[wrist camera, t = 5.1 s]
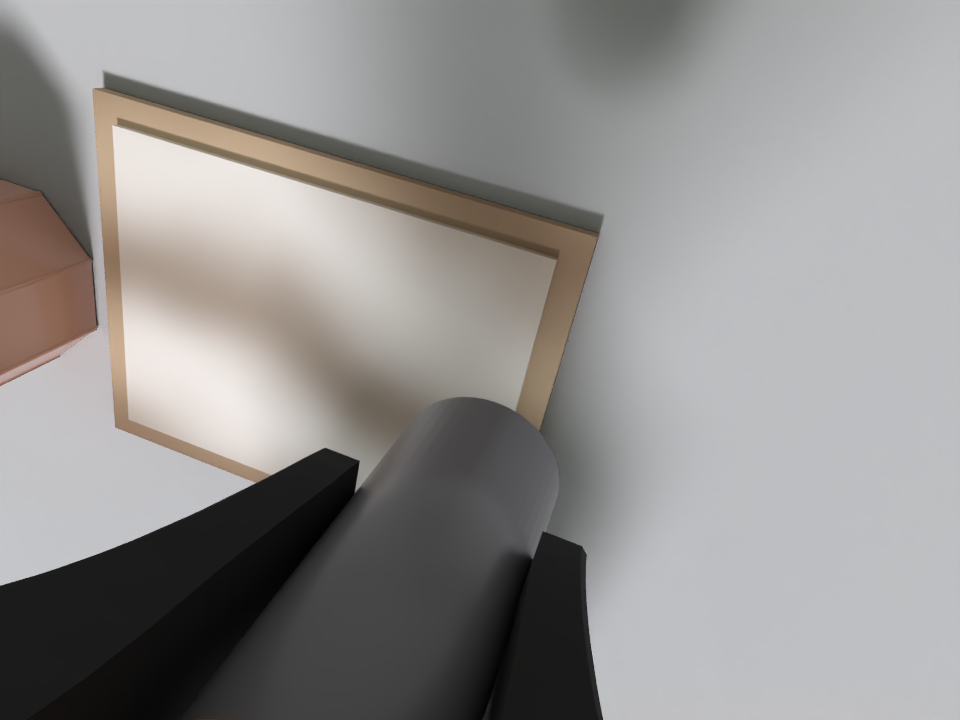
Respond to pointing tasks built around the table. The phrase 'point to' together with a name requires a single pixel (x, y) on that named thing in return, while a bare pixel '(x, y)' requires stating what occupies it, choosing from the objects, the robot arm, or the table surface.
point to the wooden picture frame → (311, 293)
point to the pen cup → (39, 284)
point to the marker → (403, 582)
